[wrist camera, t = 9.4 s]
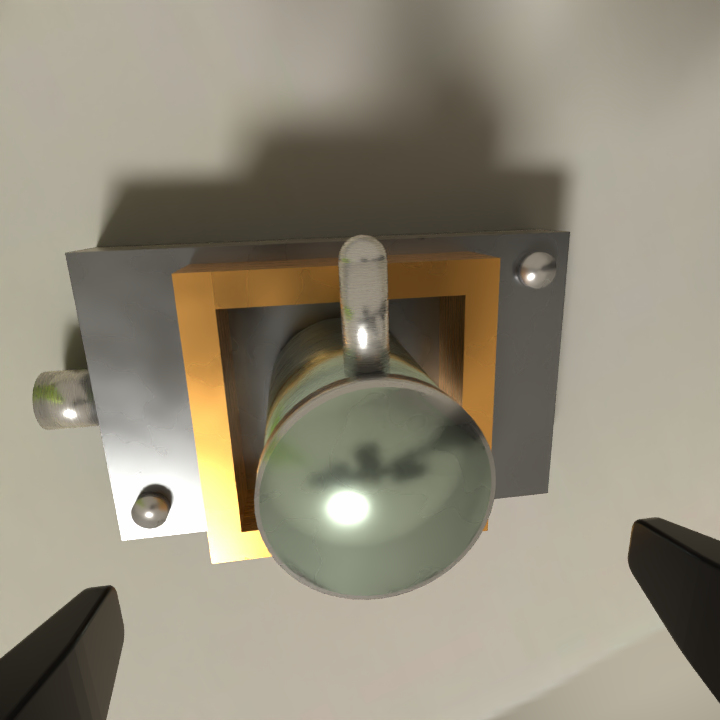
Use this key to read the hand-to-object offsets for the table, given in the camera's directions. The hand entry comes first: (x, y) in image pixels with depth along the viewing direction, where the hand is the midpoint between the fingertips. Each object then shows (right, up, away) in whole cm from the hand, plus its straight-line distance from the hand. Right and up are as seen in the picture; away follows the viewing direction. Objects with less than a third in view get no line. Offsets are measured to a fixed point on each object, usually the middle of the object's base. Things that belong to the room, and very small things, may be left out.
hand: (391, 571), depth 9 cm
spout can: (-1, +4, +8) cm, 9 cm away
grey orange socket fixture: (-2, +3, +11) cm, 12 cm away
